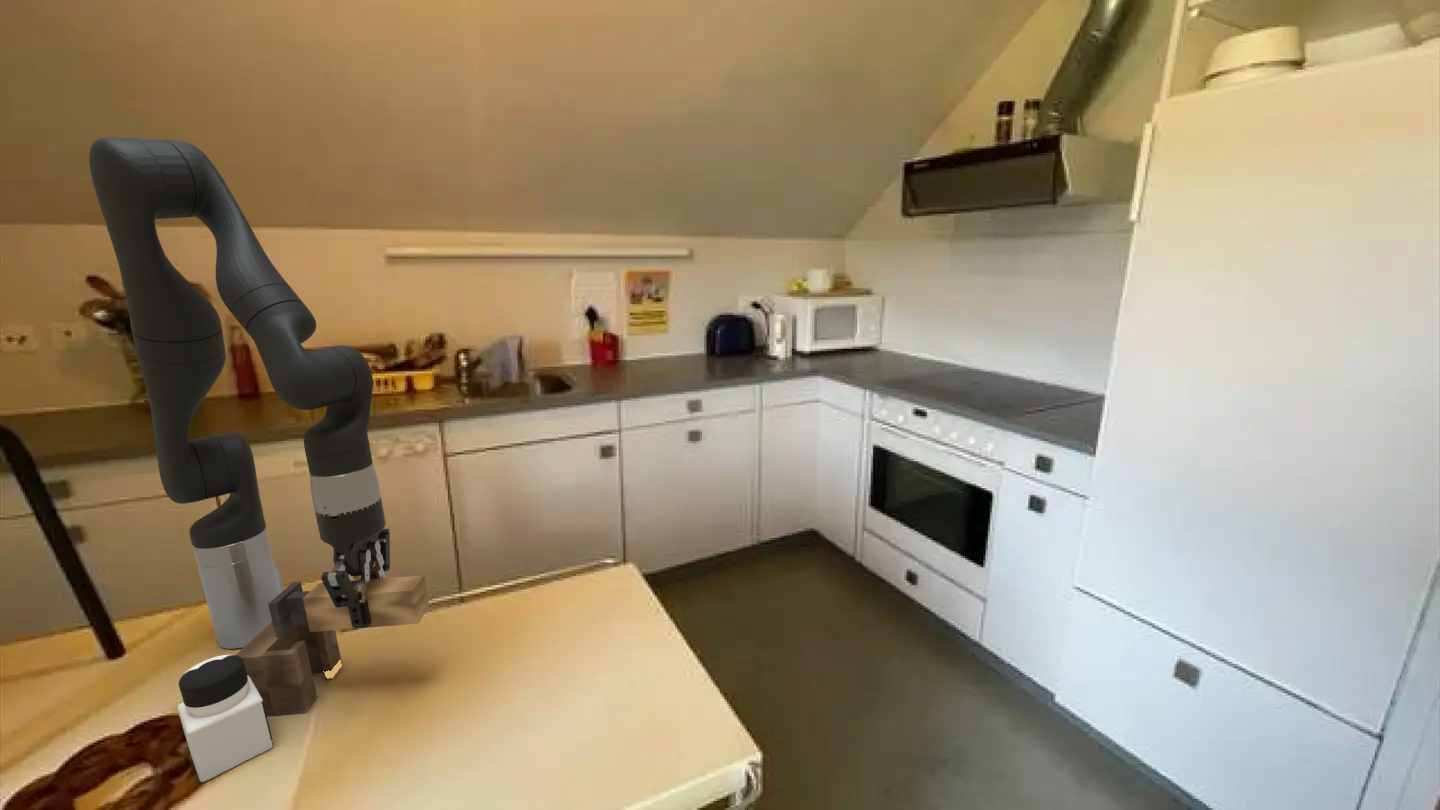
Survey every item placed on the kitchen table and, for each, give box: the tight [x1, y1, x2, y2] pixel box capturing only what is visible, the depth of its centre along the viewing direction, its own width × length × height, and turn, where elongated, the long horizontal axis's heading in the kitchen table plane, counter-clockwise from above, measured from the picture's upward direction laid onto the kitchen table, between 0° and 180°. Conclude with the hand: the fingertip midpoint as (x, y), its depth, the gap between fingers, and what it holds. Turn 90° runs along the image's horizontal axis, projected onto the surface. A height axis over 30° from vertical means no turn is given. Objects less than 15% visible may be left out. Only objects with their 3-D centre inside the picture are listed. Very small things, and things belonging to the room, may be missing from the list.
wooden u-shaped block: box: [235, 622, 342, 717], centre depth 84 cm, size 8×10×9 cm
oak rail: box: [268, 575, 430, 638], centre depth 83 cm, size 18×6×5 cm, turn 95°
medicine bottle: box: [177, 654, 274, 783], centre depth 74 cm, size 7×7×12 cm
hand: (370, 616), depth 84 cm, fingers closed on oak rail, 4 cm apart
